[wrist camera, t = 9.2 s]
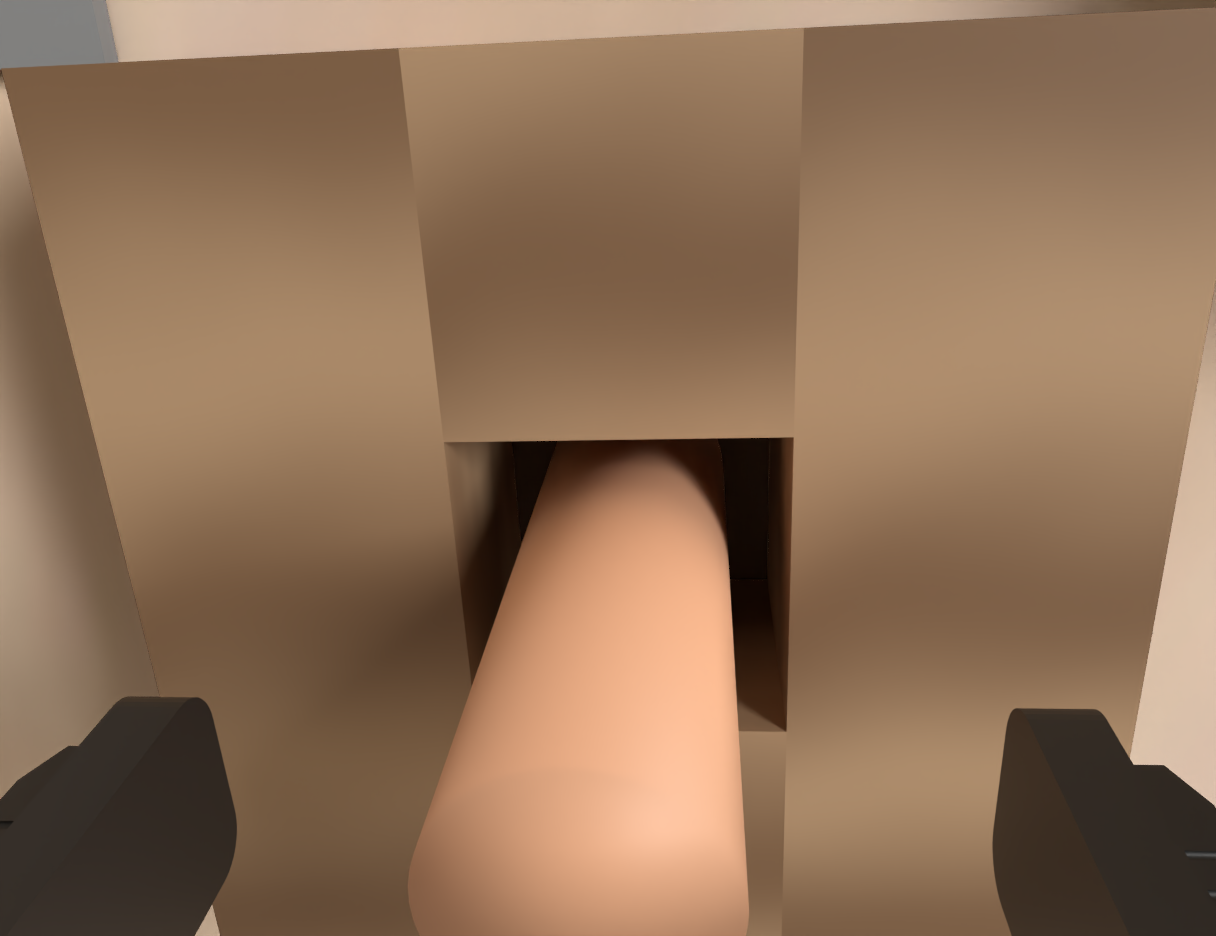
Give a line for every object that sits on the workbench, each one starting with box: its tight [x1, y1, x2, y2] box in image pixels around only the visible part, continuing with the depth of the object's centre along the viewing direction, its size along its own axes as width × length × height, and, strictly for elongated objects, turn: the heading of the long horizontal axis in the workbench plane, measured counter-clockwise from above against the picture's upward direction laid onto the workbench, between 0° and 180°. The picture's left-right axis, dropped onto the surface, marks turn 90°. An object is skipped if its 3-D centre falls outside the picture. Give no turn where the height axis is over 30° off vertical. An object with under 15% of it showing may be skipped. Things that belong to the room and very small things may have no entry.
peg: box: [408, 438, 749, 936], centre depth 14 cm, size 3×3×10 cm
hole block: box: [1, 7, 1216, 936], centre depth 16 cm, size 14×14×4 cm
